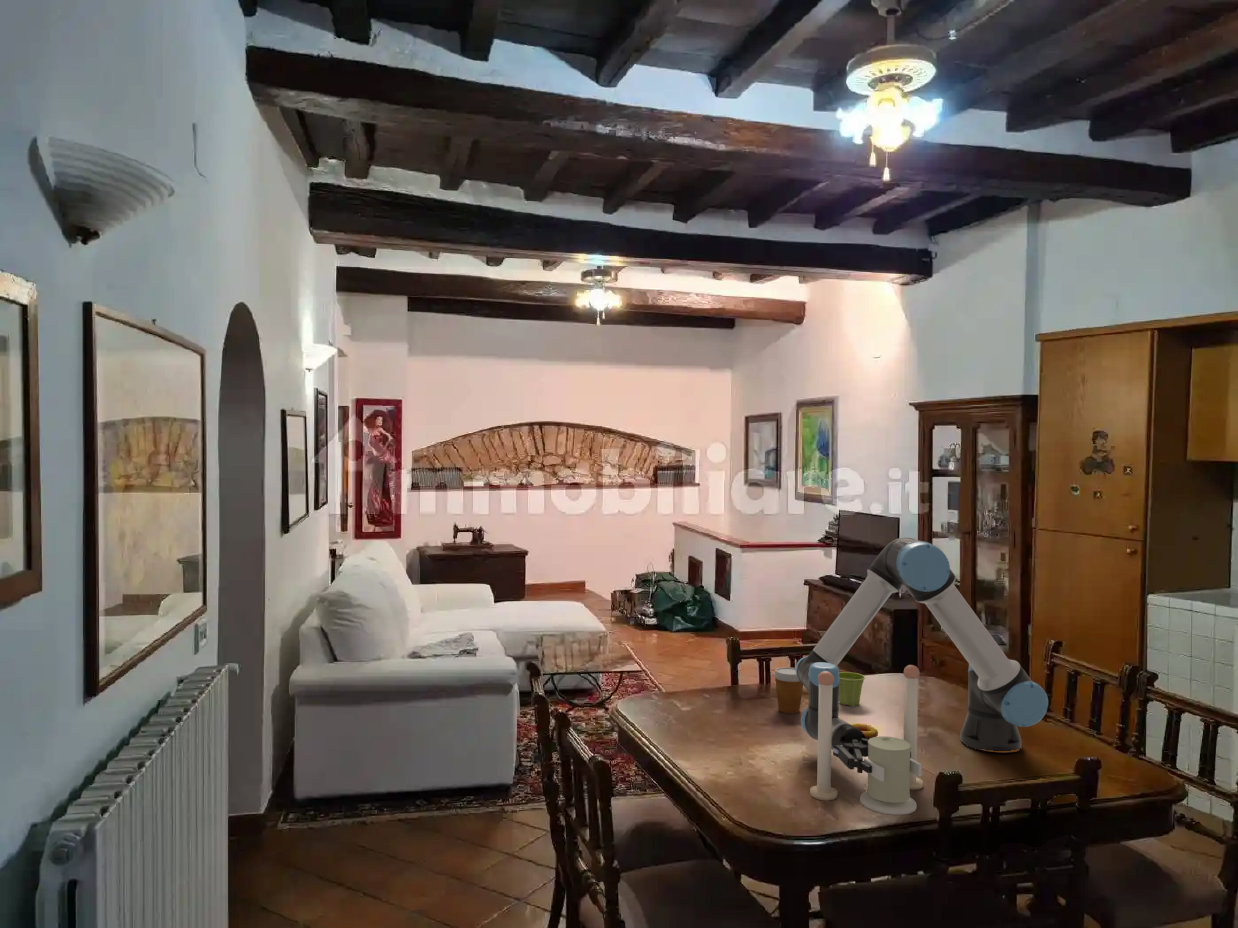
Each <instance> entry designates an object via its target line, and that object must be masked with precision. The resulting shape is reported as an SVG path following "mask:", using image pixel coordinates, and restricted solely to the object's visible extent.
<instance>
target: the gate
mask: <svg viewBox="0 0 1238 928" xmlns="http://www.w3.org/2000/svg"><path fill="white" fill-rule="evenodd" d="M903 669H904V670H903V676H904V698H903V699H904V701H903V702H904V705H903V707H904V708H903V711H904V712H903V740H905V741H907V742H908V743H909V744H910V745H911V748H910V752H911V759H913V760H915V761H917V762H918V755H917V753H918V719H919V718H918V713H919V711H918V710H919V707H918V706H919V677H920V675H921V672H920V669H919V668H918V667H917V666H916V665H913V664H908V665H906V666H905V667H904V668H903ZM818 682H819V706H818V740H817V761H816V762H817V770H816V772H817V773H816V777H817V778H816V785H814V786H811V787H810V789H809V790H810V791H809V794H810V796H811V797H812V798H814V799H815V800H816V799H817V800H820V801H833V800H834V801H835V800H836V799H837V798H838V790H837V789H836V788H834V787H832V786H831V785H832V784H831V781H832V779H831V778H832V749H831V737H832V684H833V682H834V677H833V675H832V674H831V673H830V672H828V671H823V672H821V673H820V674H819V675H818ZM909 788H910V790H921V789H923V788H924V781H923V780H922V779H921V778H920V777H918V776H916V775H914V774H913V773H911V772H910V785H909Z"/></svg>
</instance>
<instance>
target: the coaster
mask: <svg viewBox="0 0 1238 928" xmlns="http://www.w3.org/2000/svg"><path fill="white" fill-rule="evenodd" d="M859 802H860V803H861V805H862V806H863V807H865V808H867V809H868V810H871V811H873V812H876V813H880V814H884V815H891V816H903V815H910V814H912V813H914V812H916V811H917V802H916V801H915V799H913V798H912V797H910V799H909V800H907V801H905V802H900V803H890V802H884V801H880V800H877V799H874V798H872V797H871V796H869V795H868V793H867V791H865V792H863V793H861V795H860V797H859Z"/></svg>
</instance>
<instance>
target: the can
mask: <svg viewBox="0 0 1238 928" xmlns="http://www.w3.org/2000/svg"><path fill="white" fill-rule="evenodd" d="M910 748H911V745H910V744H909V743H908V742H907V741H905V740H904V739H901V738H897V737H895V736H894V737H892V736H883V735H882V736H881V735H879V736H874V737H870V738H869V740H868V759H869V760H871V761H872V762H874V763H876V764H877V765H879V766H881V767H882V768H884V781H880V780H878V779H876V778H875V777H873V776H872V775H870V774H869V773H867V788H866V792H867V793H868V795H869V796H871V797H872V798H874V799H877V800H880V801H884V802H890V803H900V802H905V801H907V800H909V799H910V798H911V794H910V793H911V792H910V790H911V789H910V788H909V785H910Z"/></svg>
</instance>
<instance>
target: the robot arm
mask: <svg viewBox="0 0 1238 928" xmlns="http://www.w3.org/2000/svg"><path fill="white" fill-rule="evenodd" d="M866 572H867V576H866V578H865V580H863V581H862V583H861V584H860V586H859V587H858V589H856V591H855V593H854V594H853V595H852V596H851V598H850V599H849V600H848V602H847V603H846V605H845V606H844V607H843V608H842V610H841V611H840V613H839V614H838V615H837V617H836V618H835V619H834V620H833V622H832V623H831V625H830V626H829V627H828V629H827V630H826V632H825V633H824V634H823V636H822V637H821V638H820V639H819V641H818V642H817V644H816V645H815V646H814V648H813V649H812V650H811V651H810V653H809V654H808V655H807V656H803V657H802V658H800V659H798V661H797V663H796V665H795V668H796V675H797V677H798V679H799V681H800V682H801V684H802V685H803V687H804V688H805V689H806V691H807V692H808V706H807V708H805V709H804V711H803V713H802V715H801V716H800V725H801V728H802V730H803V732H805V733H806V734H808V736H810V737H811V738H812V739H814V740H816V741H818V706H819V682H818V675H819V674H820V673H821V672H823V671H828V672H830V673H831V674H832V675H833V677H834V682H833V684H832V737H831V751H832V755H833V756H834V757H836V758H838V759H839V760H840V761H841V762H842V764H844V765H845V766H846V767H847V769H849V770H855V769H856V772H857V773H858V774H863V772H865V773H867V774H868V773H869V774H870V775H872V776H873V777H875V778H876V779H878V780H880V781H884V768H882V767H881V766H879V765H877V764H876V763H874V762H872V761H871V760H869V759H868V758H867V757H868V740H869V739H870V738H869V739H868V738H867V737H866V735H865V734H864V732H863V731H862V730H861V729H859V728H858V727H856V726H854V725H852V724H850V723H849V722H846V721H845V720H843V719H841V718H840V717H839V713H840V712H839V711H840V709H839V706H840V703H839V683H840V678H839V672H840V669H839V667H838V665H839V664H840V662H841V661H842V660H843V658H845V656H846V655H847V654H848V652H849V651H850V649H851V648H852V647H853V645H854V644H855V643H856V642H857V640H858V638H859V637H860V636H861V635H862V633H863V632H864V631H865V630H866V628H867V627H868V625H869V624H870V623H871V621H872V620H873V619H874V618H875V616H876V615H877V613H878V612H879V611H880V609H881V608H882V607H883V606H884V605H885V603H886V602H887V600H888V599H889V598H890V596H892V594H895V593H898V592H899V591H900V589H901V588H902V587H903V586H904V587H905V589H906V590H907V591H908V593H909V594H910V595H911V596H912V598H913V599H914V601H915V602H917V603H921V604H925V606H926V607H927V609H928V610H929V611H930V612H931V614H932V615H933V616H934V618H935V619H936V620H937V622H938V623H939V625H940V626H941V628H942V629H943V630H944V631H945V633H946V634H947V635H948V637H949V639H950V640H951V641H952V642H953V644H954V645H955V647H956V648H957V649H958V651H959V652H960V653H961V655H962V656H963V658H964V659H965V661H966V662H967V663H968V670H967V673H968V675H967V676H968V677H967V678H968V679H967V680H968V681H967V684H968V685H967V689H968V690H967V691H968V693H967V714H966V717H965V719H964V722H963V725H962V727H961V729H960V734H959V735H960V736H959V737H960V738H959V739H960V740H961V741H960V742H961V743H962V742H963V743H964V744H966V745H968V746H969V747H968V746H967V747H968V748H970V747H972V748H971V749H973V748H976V749H985V750H993V751H1011V750H1016V749H1020V748H1021V749H1022V737H1021V735H1020V731H1019V729H1018V727H1021V728H1028V727H1029V728H1030V727H1031V726H1035V725H1037V724H1038V723H1039V722H1040V721H1041V720H1042V719H1044V716H1045V715H1046V714H1047V711H1048V707H1049V698H1048V695H1047V692H1046V691H1045V690H1044V688H1042V686H1041V685H1040V684H1039V683H1037V682H1035V681H1033V680H1032V679H1031V678H1030V676H1029V675H1028V673H1027V672H1026V671H1025V669H1024V668H1023V667H1022V665H1021V664H1020V663H1019V662H1018V661H1017V660H1015V659H1009V658H1008V657H1007V656H1006V654H1005V653H1004V651H1003V650H1002V648H1001V647H1000V645H999V644H998V643H997V641H996V640H995V639H994V637H993V636H992V634H990V632H989V631H988V629H987V628H986V626H984V624H983V623H982V621H981V619H980V618H979V616H978V615H977V614H976V613H975V611H974V610H973V608H971V606H970V604H968V602H967V600H966V599H965V598H964V596H963V595H962V593H960V591H959V589H958V588H957V587H956V586H955V583H956V580H957V578H956V575H955V574H954V572H953V571H952V569H951V565H950V561H949V559H948V557H947V555H946V553H944V551H943V550H941V548H939V547H938V546H937V545H934V544H932V543H931V542H928V541H924V540H918V539H915V538H912V537H906V536H904V537H900V538H896V539H894V540H892V541H890V542H889V543H888V544H886V546H885V547H884V548H883V549H882V550H881V551H880V553H878V555H877V556H876V558H875V559H874V561H873V562H872V563H871V564H870V566H869V567H868V568H867V570H866ZM963 743H962V744H963ZM964 744H963V745H964ZM966 745H965V746H966ZM976 749H975V750H976ZM863 757H864V758H863ZM922 770H923V769H922V763H920V762H918V760H917V761H915V760H913V759H911V752H910V772H911V773H913V774H914V775H916V777H917V778H921V777H922V772H923V771H922Z"/></svg>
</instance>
